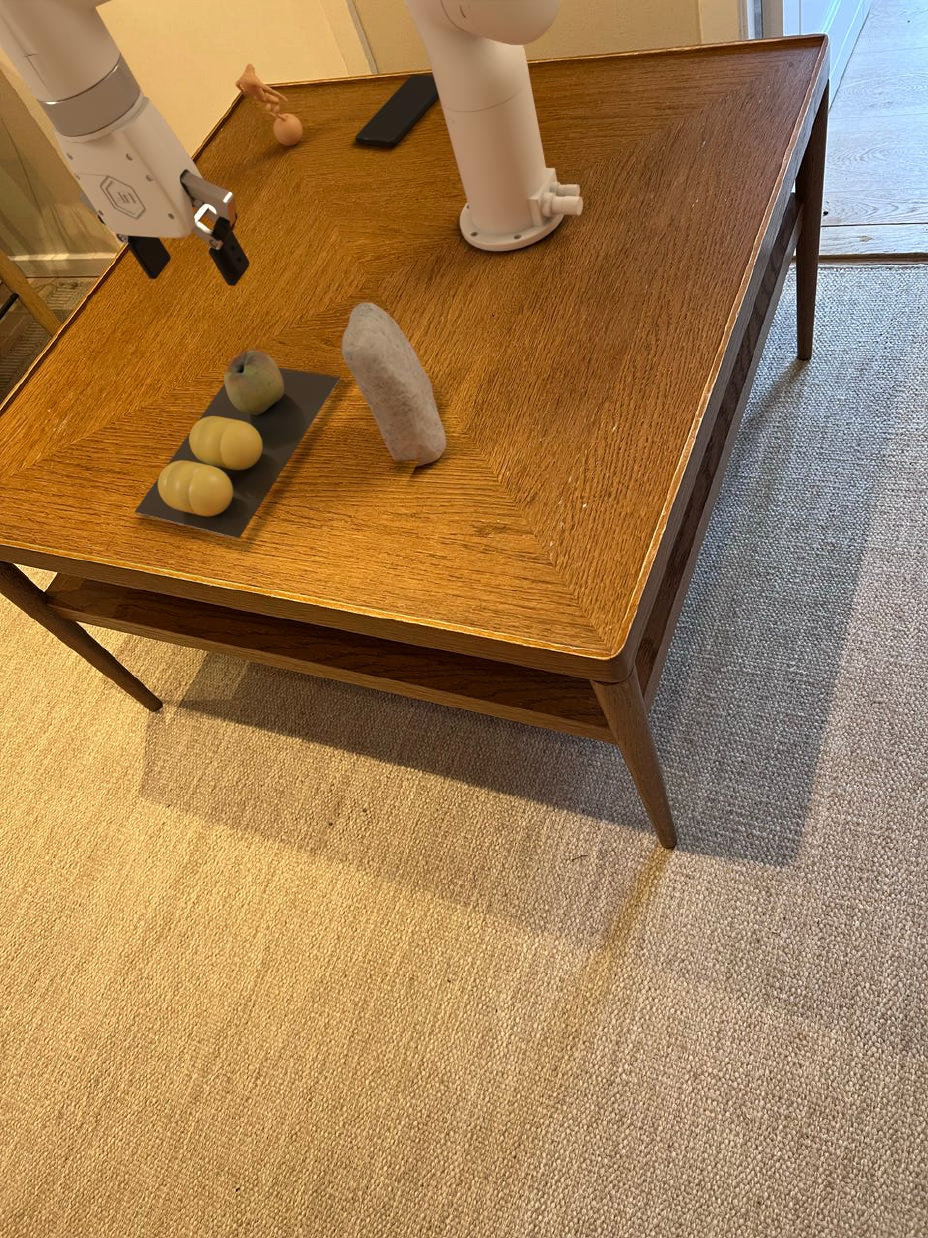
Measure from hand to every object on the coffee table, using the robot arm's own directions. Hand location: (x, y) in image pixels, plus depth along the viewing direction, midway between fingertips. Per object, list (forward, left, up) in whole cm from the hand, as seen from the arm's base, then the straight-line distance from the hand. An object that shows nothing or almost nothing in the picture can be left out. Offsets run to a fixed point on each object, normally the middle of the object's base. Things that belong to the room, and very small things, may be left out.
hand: (199, 272), depth 86 cm
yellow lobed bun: (-1, +9, -16) cm, 18 cm away
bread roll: (-1, +15, -16) cm, 22 cm away
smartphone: (+10, -53, -17) cm, 56 cm away
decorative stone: (-18, 0, -18) cm, 25 cm away
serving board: (0, +7, -17) cm, 19 cm away
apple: (0, +1, -16) cm, 16 cm away
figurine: (+25, -45, -18) cm, 54 cm away
